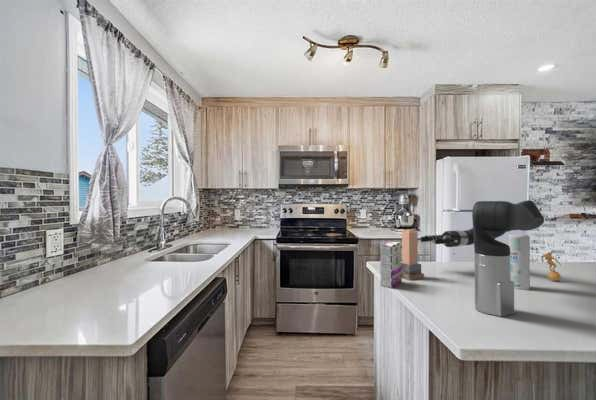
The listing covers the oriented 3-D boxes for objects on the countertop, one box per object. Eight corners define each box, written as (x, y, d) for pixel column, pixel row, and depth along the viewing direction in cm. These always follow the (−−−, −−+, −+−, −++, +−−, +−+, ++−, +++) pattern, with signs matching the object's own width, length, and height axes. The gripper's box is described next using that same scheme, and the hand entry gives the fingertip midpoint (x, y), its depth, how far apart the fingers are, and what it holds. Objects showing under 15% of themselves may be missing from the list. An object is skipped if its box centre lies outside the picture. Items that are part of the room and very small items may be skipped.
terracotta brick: (417, 264, 133) (417, 230, 133) (409, 264, 131) (409, 230, 132) (410, 262, 137) (410, 229, 137) (402, 262, 136) (402, 229, 136)
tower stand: (424, 278, 132) (423, 264, 132) (409, 280, 129) (409, 266, 129) (410, 274, 140) (410, 261, 140) (396, 276, 137) (396, 262, 137)
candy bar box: (390, 280, 129) (389, 241, 129) (401, 282, 126) (401, 242, 126) (379, 286, 120) (379, 244, 120) (392, 288, 117) (391, 245, 117)
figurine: (568, 283, 123) (568, 253, 123) (555, 284, 122) (554, 253, 122) (549, 278, 131) (549, 250, 131) (536, 278, 130) (536, 250, 130)
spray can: (534, 289, 114) (534, 236, 114) (517, 290, 114) (516, 236, 114) (521, 285, 121) (521, 234, 121) (505, 285, 121) (504, 234, 121)
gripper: (442, 229, 151) (416, 230, 145) (468, 232, 138) (440, 233, 132) (442, 244, 151) (416, 246, 145) (468, 248, 138) (440, 251, 132)
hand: (428, 240), depth 138 cm, fingers open, 8 cm apart
